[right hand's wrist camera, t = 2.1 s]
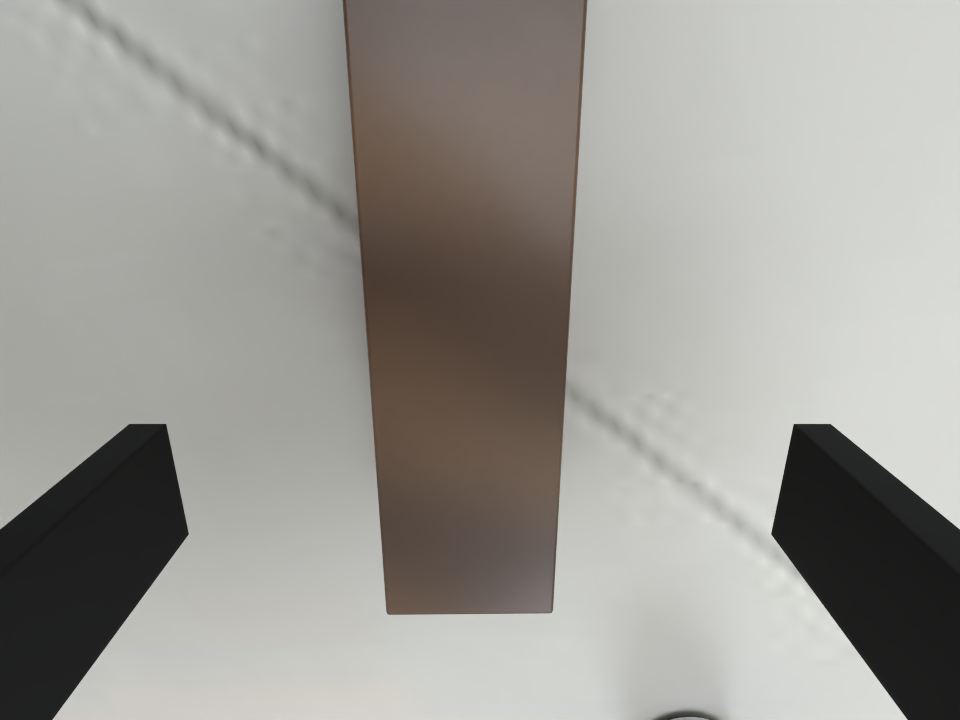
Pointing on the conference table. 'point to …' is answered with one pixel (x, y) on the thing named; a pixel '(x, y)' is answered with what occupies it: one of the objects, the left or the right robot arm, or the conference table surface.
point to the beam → (467, 287)
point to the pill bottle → (690, 718)
